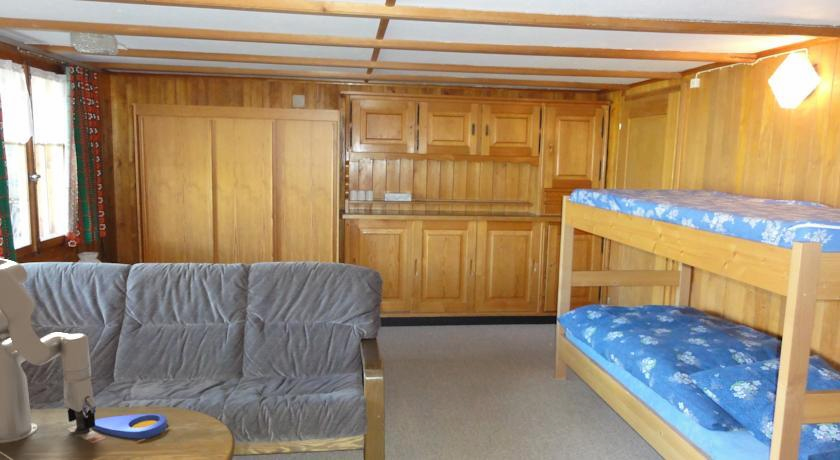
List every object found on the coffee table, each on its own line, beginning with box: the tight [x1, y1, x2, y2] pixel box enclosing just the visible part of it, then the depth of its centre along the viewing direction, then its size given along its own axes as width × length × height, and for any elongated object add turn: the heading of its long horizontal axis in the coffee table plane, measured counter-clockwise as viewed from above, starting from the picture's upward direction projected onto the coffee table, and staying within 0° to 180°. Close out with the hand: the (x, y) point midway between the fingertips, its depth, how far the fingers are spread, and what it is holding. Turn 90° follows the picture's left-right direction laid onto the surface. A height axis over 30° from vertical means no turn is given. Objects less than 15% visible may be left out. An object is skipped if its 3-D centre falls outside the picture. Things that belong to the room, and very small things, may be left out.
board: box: [66, 425, 107, 444], centre depth 190 cm, size 17×5×1 cm, turn 56°
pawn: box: [74, 406, 91, 436], centre depth 191 cm, size 4×4×8 cm
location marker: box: [91, 413, 168, 440], centre depth 194 cm, size 13×3×25 cm
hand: (81, 423), depth 191 cm, fingers open, 9 cm apart
